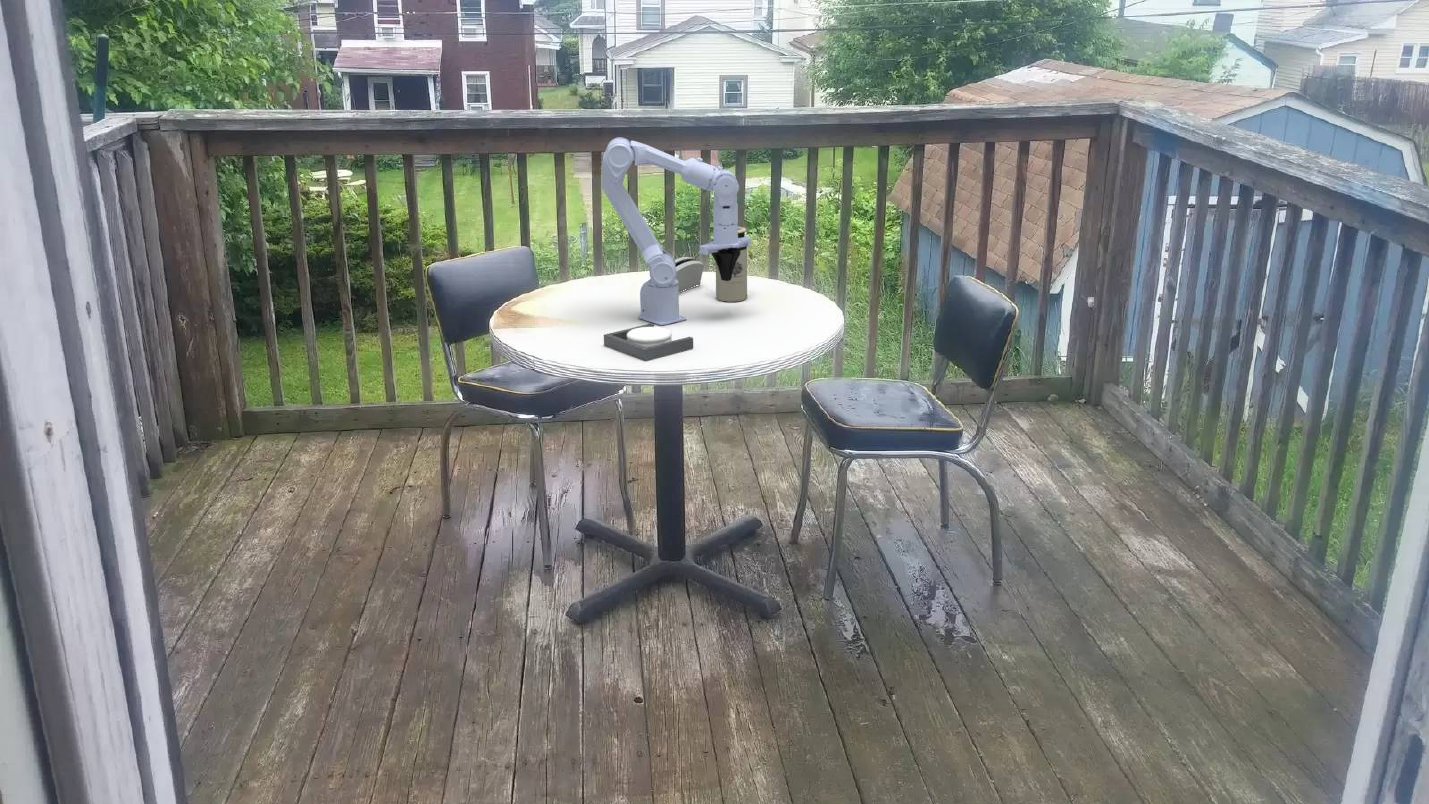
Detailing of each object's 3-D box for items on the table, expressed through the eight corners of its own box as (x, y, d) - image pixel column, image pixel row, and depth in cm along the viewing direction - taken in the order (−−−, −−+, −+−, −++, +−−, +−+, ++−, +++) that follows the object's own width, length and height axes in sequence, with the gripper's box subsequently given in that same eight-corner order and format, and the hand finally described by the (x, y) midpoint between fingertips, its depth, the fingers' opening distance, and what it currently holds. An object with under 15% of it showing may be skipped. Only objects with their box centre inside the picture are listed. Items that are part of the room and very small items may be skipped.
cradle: (604, 345, 250) (603, 334, 249) (651, 333, 258) (650, 323, 257) (645, 361, 239) (645, 349, 238) (693, 348, 247) (693, 337, 246)
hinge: (685, 282, 304) (694, 249, 298) (698, 290, 302) (708, 257, 297) (647, 295, 291) (656, 261, 286) (660, 304, 289) (670, 270, 284)
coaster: (649, 338, 256) (649, 323, 254) (681, 346, 249) (680, 331, 248) (617, 348, 249) (617, 333, 248) (649, 357, 242) (648, 341, 241)
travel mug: (716, 294, 291) (715, 226, 285) (747, 294, 291) (747, 225, 284) (715, 302, 283) (714, 232, 277) (746, 302, 283) (746, 232, 277)
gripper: (712, 230, 255) (713, 288, 259) (760, 221, 263) (759, 277, 268) (693, 225, 260) (694, 282, 264) (740, 217, 268) (740, 272, 273)
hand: (726, 280), depth 267 cm, fingers closed
